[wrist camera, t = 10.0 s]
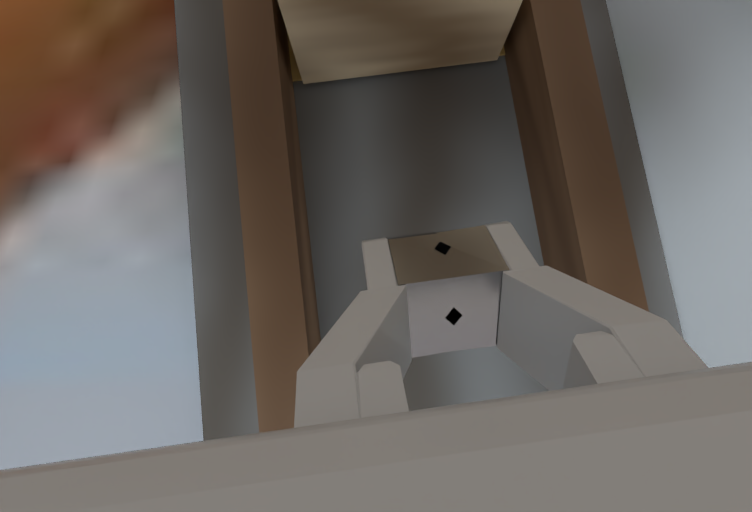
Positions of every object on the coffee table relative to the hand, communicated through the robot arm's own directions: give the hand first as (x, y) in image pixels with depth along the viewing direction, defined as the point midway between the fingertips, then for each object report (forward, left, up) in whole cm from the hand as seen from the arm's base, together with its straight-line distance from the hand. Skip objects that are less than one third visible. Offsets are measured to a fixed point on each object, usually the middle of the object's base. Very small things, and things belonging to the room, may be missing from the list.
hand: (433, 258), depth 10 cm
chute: (+1, +5, -7) cm, 9 cm away
